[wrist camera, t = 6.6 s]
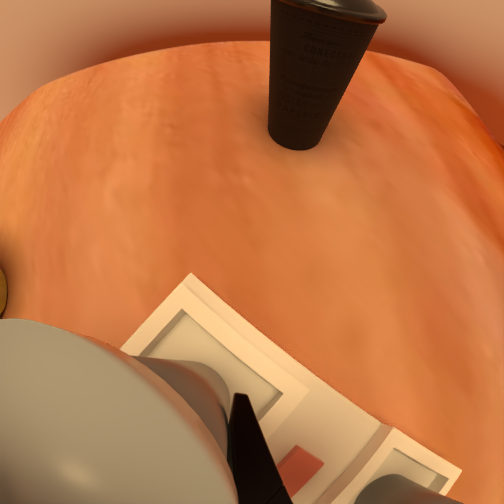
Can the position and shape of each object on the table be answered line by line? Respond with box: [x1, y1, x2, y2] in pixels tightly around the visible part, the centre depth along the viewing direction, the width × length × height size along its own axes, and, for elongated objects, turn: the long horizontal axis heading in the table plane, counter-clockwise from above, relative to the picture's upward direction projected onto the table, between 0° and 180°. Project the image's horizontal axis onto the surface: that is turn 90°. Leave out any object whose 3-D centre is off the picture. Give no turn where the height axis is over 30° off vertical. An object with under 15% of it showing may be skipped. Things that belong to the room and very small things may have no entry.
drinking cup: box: [268, 0, 387, 150], centre depth 15 cm, size 8×8×20 cm
